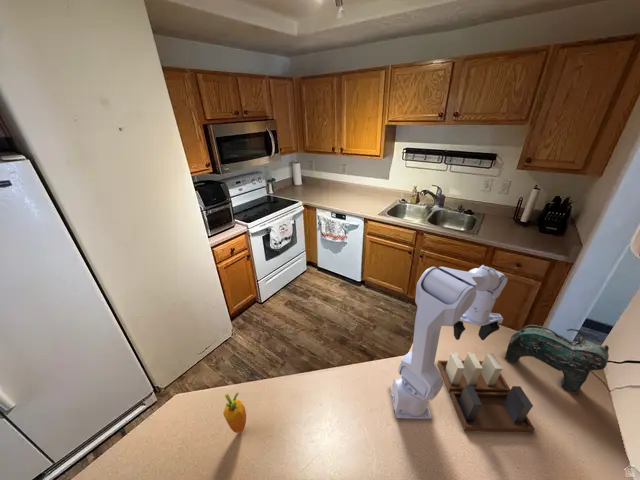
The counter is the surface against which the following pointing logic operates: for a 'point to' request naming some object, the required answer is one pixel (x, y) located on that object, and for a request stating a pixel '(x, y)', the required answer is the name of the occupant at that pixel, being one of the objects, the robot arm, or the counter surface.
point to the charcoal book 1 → (469, 403)
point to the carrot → (235, 414)
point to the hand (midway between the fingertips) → (468, 337)
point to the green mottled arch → (559, 353)
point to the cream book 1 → (454, 368)
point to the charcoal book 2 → (517, 404)
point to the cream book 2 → (471, 369)
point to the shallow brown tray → (479, 386)
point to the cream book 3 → (490, 369)
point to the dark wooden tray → (491, 415)
